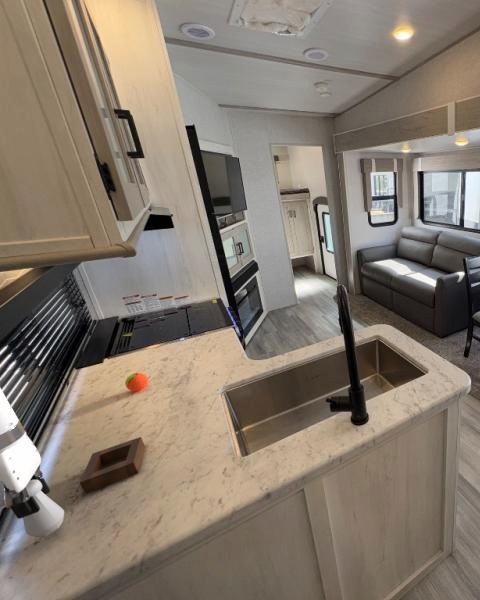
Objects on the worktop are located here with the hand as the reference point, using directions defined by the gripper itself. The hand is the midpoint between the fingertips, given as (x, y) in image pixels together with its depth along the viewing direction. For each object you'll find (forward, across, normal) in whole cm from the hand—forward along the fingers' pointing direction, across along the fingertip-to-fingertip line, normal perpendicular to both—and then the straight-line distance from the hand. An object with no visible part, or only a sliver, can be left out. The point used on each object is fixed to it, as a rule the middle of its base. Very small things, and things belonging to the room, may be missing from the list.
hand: (34, 503), depth 67 cm
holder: (+9, -15, +9) cm, 20 cm away
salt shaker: (+8, 0, 0) cm, 8 cm away
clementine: (+10, -60, +7) cm, 61 cm away
